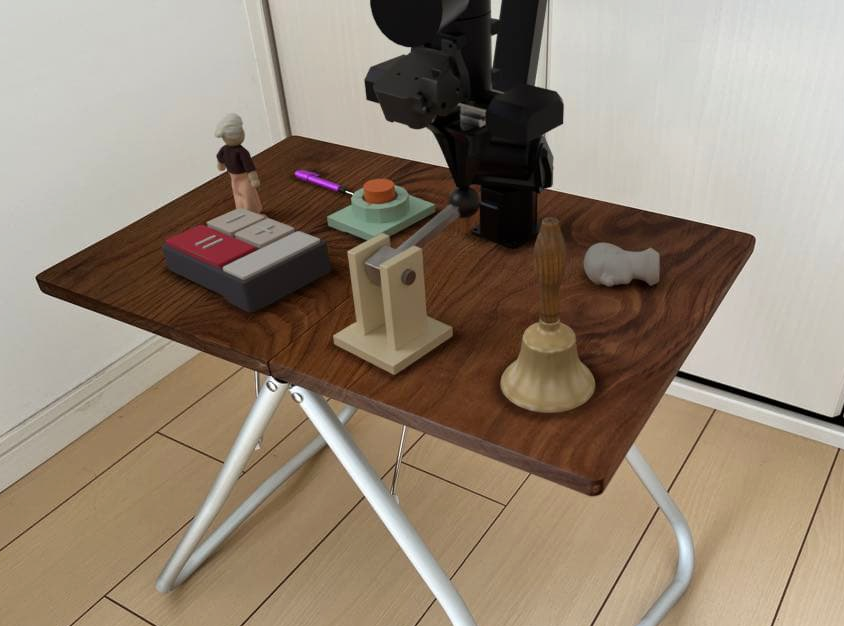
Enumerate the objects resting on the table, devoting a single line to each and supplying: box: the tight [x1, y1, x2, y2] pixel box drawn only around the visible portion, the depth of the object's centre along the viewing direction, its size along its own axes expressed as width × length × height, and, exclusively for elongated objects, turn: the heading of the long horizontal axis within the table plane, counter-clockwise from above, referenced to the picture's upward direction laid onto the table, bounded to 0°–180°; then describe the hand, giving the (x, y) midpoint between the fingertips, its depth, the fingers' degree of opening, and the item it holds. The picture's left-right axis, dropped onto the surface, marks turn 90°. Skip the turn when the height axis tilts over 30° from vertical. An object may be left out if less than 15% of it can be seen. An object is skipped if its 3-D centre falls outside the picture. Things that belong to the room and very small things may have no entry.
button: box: [362, 178, 396, 204], centre depth 101 cm, size 4×4×2 cm
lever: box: [364, 186, 481, 288], centre depth 80 cm, size 14×3×3 cm, turn 139°
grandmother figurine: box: [213, 112, 269, 219], centre depth 100 cm, size 8×4×13 cm, turn 58°
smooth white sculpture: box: [583, 242, 661, 288], centre depth 89 cm, size 4×8×5 cm
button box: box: [326, 184, 436, 241], centre depth 102 cm, size 10×8×3 cm
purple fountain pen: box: [294, 169, 354, 196], centre depth 110 cm, size 3×1×16 cm
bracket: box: [332, 233, 454, 376], centre depth 80 cm, size 8×8×10 cm
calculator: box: [161, 208, 332, 314], centre depth 93 cm, size 11×4×15 cm
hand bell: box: [500, 216, 596, 414], centre depth 72 cm, size 8×8×16 cm
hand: (463, 187), depth 82 cm, fingers closed
